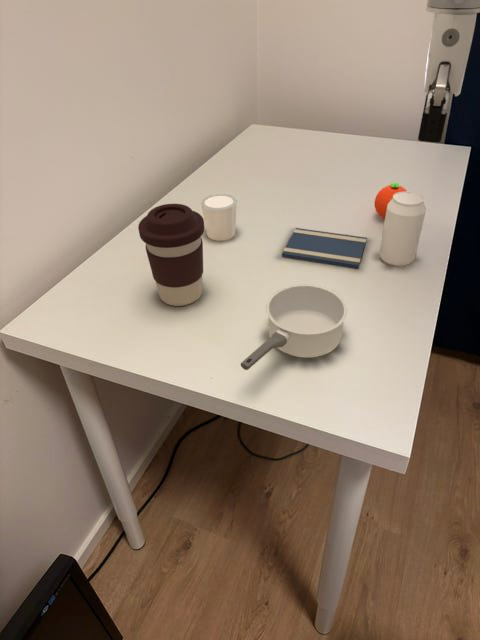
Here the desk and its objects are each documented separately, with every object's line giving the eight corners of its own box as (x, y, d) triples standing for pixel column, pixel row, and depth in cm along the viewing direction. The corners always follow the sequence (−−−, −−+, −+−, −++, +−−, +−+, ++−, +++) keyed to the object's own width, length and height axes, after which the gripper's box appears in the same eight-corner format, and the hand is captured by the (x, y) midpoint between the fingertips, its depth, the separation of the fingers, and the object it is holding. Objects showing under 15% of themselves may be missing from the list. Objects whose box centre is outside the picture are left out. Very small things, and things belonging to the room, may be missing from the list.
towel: (366, 241, 93) (367, 237, 92) (358, 268, 85) (358, 264, 85) (295, 231, 97) (295, 227, 96) (281, 257, 89) (281, 252, 89)
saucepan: (212, 376, 67) (209, 346, 63) (293, 304, 78) (294, 275, 75) (281, 415, 61) (282, 385, 57) (357, 331, 73) (362, 301, 69)
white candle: (229, 222, 101) (227, 190, 96) (244, 236, 96) (243, 204, 91) (198, 230, 98) (195, 198, 94) (212, 245, 93) (209, 212, 89)
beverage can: (421, 264, 86) (436, 202, 78) (389, 271, 84) (401, 208, 77) (402, 247, 90) (414, 187, 83) (372, 254, 89) (381, 192, 81)
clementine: (371, 207, 103) (376, 175, 99) (405, 209, 102) (412, 176, 98) (372, 225, 97) (377, 192, 93) (408, 227, 96) (415, 193, 92)
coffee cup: (220, 299, 80) (214, 217, 70) (165, 319, 76) (150, 236, 67) (195, 271, 87) (186, 193, 77) (143, 288, 83) (127, 208, 74)
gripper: (492, 6, 56) (456, 152, 67) (487, -11, 69) (457, 114, 79) (424, 6, 58) (400, 148, 69) (431, -11, 71) (409, 112, 82)
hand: (430, 130), depth 74 cm, fingers open, 9 cm apart
